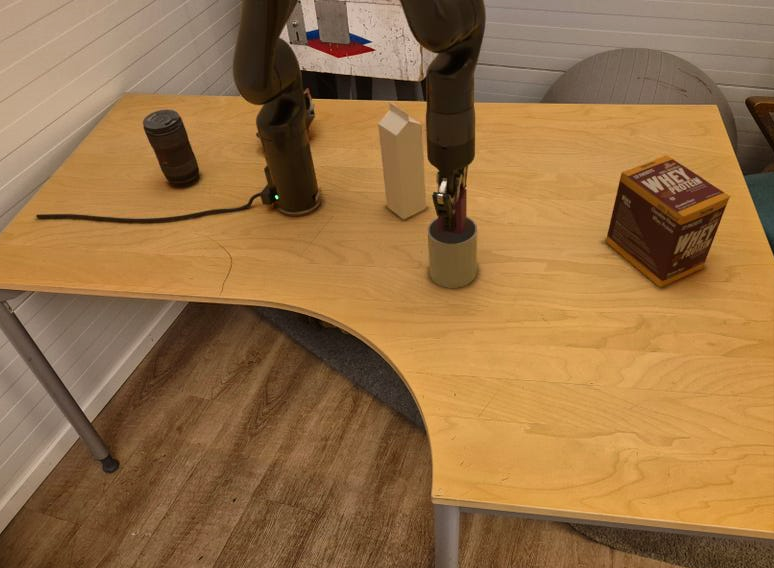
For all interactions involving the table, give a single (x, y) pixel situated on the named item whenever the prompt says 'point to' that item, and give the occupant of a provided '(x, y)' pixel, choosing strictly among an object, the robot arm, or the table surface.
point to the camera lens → (172, 147)
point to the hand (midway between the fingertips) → (452, 222)
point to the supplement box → (665, 219)
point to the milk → (402, 162)
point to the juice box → (457, 214)
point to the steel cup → (452, 255)
